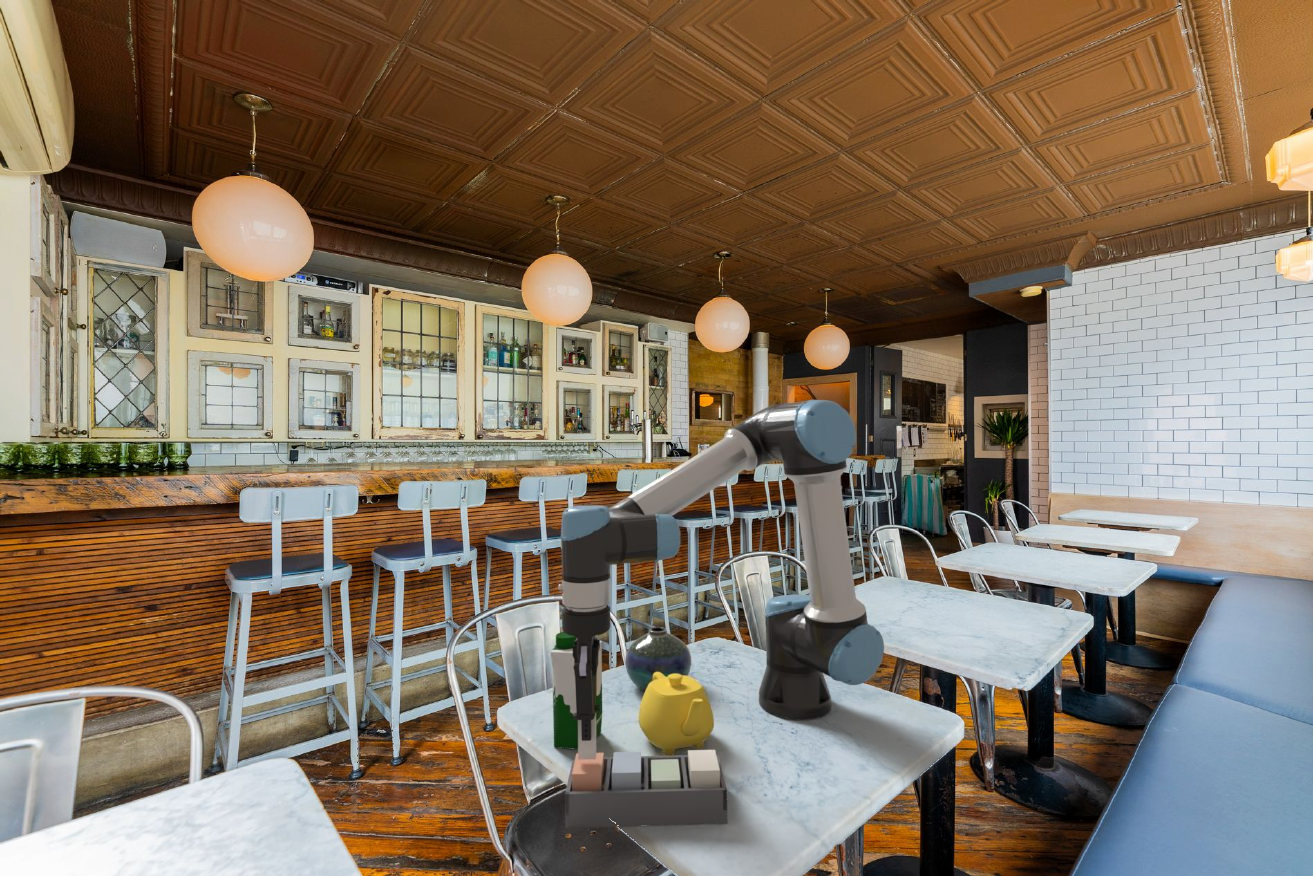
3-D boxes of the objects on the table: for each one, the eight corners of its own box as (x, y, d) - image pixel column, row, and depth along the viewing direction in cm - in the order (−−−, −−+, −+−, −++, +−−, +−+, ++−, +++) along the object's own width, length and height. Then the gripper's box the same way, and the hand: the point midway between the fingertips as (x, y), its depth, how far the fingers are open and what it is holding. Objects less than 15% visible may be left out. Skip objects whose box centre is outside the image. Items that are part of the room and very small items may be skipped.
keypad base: (719, 784, 97) (718, 754, 97) (727, 823, 87) (727, 789, 87) (573, 788, 97) (573, 758, 97) (565, 828, 87) (564, 794, 87)
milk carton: (564, 727, 118) (562, 627, 118) (607, 731, 116) (606, 629, 116) (547, 749, 109) (545, 641, 110) (594, 754, 108) (592, 644, 108)
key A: (715, 768, 95) (715, 749, 95) (720, 790, 89) (719, 770, 89) (688, 769, 95) (687, 750, 95) (691, 791, 89) (690, 771, 89)
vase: (693, 700, 129) (692, 640, 130) (623, 701, 130) (622, 640, 130) (690, 673, 145) (689, 619, 145) (627, 674, 145) (627, 619, 145)
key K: (641, 770, 95) (640, 751, 95) (641, 792, 89) (640, 772, 89) (614, 771, 95) (613, 752, 95) (611, 793, 89) (611, 773, 89)
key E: (604, 771, 95) (603, 752, 95) (601, 793, 89) (601, 773, 89) (576, 772, 95) (576, 753, 95) (572, 794, 89) (571, 774, 89)
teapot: (668, 778, 99) (667, 705, 100) (625, 727, 118) (624, 665, 118) (736, 760, 105) (735, 690, 105) (685, 714, 123) (684, 654, 123)
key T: (678, 777, 95) (678, 759, 95) (680, 800, 89) (680, 780, 89) (651, 778, 95) (650, 759, 95) (651, 801, 89) (651, 781, 89)
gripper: (567, 595, 99) (568, 736, 98) (555, 617, 86) (557, 781, 85) (612, 594, 99) (613, 736, 99) (607, 617, 86) (608, 780, 86)
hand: (587, 756), depth 92 cm, fingers closed
